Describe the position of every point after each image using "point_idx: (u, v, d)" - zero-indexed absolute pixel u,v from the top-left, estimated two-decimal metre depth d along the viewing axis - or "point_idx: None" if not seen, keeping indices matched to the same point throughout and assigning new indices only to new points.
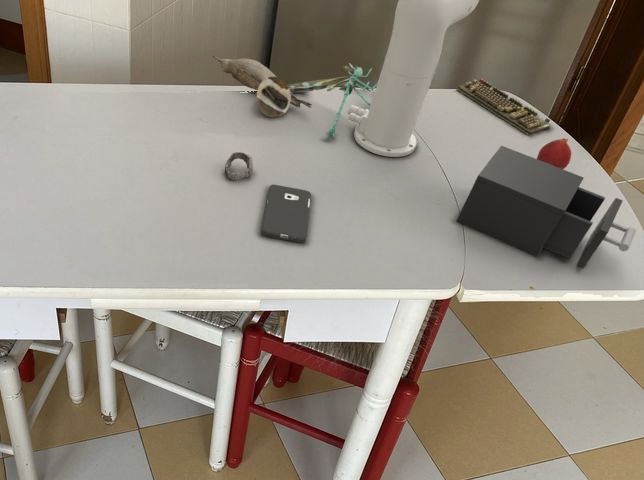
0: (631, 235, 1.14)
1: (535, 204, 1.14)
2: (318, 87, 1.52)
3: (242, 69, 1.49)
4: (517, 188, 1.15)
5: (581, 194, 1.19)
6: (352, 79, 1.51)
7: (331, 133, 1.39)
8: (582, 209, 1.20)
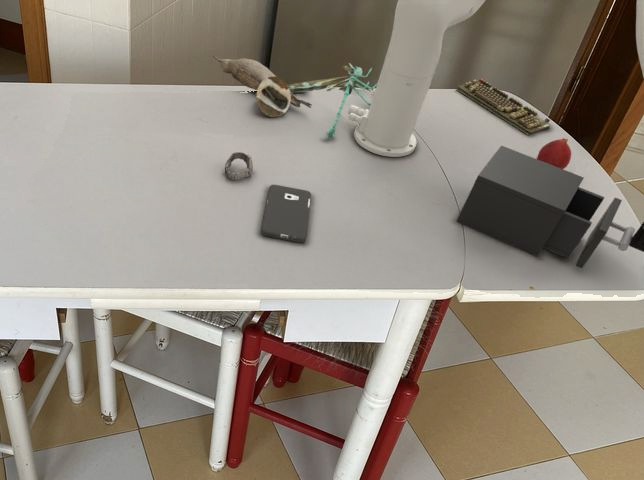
0: (630, 235, 1.14)
1: (535, 204, 1.14)
2: (318, 87, 1.52)
3: (242, 69, 1.49)
4: (517, 188, 1.15)
5: (580, 193, 1.19)
6: (352, 79, 1.51)
7: (331, 133, 1.39)
8: (581, 209, 1.20)
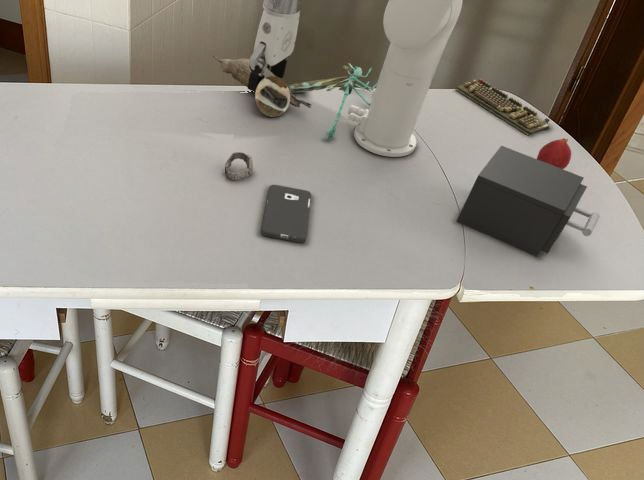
0: (594, 220, 1.16)
1: (535, 204, 1.14)
2: (318, 87, 1.52)
3: (242, 69, 1.49)
4: (517, 188, 1.15)
5: None
6: (352, 79, 1.51)
7: (331, 133, 1.39)
8: None
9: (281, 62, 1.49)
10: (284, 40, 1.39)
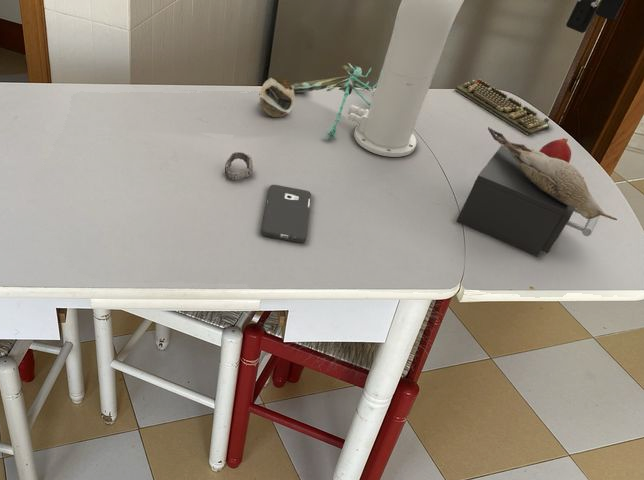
0: (594, 220, 1.16)
1: (535, 204, 1.14)
2: (318, 87, 1.52)
3: None
4: (517, 188, 1.15)
5: None
6: (352, 79, 1.51)
7: (332, 133, 1.39)
8: None
9: None
10: None
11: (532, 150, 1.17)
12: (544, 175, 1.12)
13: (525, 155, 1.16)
